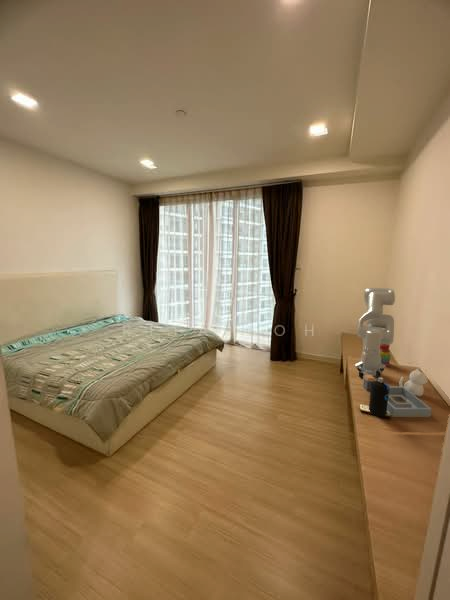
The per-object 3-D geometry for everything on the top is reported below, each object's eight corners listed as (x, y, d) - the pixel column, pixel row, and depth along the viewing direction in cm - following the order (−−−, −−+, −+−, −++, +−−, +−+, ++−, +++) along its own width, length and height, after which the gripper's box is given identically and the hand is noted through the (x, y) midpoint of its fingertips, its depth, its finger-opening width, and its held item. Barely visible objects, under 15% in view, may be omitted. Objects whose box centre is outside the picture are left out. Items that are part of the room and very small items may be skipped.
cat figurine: (426, 400, 132) (431, 376, 129) (399, 394, 138) (403, 371, 135) (422, 391, 140) (426, 368, 137) (396, 386, 146) (400, 364, 143)
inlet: (386, 399, 132) (386, 395, 132) (400, 399, 132) (401, 395, 131) (395, 409, 124) (396, 404, 124) (411, 409, 124) (412, 404, 123)
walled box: (370, 394, 139) (371, 386, 138) (402, 394, 138) (403, 386, 137) (393, 418, 119) (394, 408, 118) (430, 418, 118) (431, 409, 117)
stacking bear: (386, 361, 179) (389, 338, 175) (393, 367, 169) (396, 344, 166) (371, 360, 181) (373, 338, 178) (376, 366, 171) (379, 343, 168)
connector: (363, 388, 146) (364, 374, 144) (369, 388, 145) (370, 374, 143) (366, 391, 142) (367, 378, 140) (373, 391, 141) (374, 378, 140)
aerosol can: (368, 415, 121) (372, 380, 117) (367, 406, 129) (370, 372, 125) (388, 420, 118) (392, 384, 114) (385, 410, 125) (389, 375, 121)
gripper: (383, 348, 141) (380, 375, 144) (353, 348, 142) (351, 375, 145) (391, 353, 134) (388, 381, 137) (360, 353, 135) (357, 381, 138)
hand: (369, 378), depth 141 cm, fingers open, 9 cm apart
